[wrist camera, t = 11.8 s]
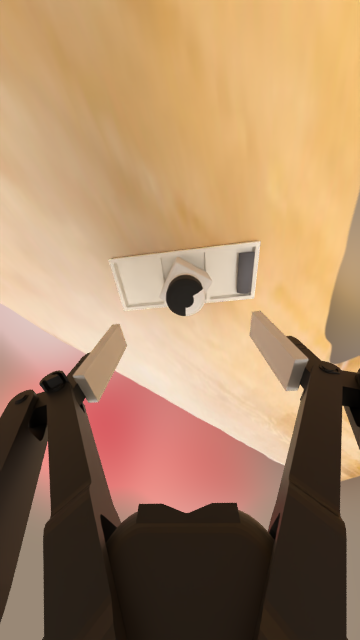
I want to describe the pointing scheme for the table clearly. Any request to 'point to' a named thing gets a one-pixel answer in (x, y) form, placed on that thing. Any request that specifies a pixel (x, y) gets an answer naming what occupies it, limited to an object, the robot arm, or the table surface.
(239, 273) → the grey cylinder
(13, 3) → the table surface
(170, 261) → the organiser
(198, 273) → the medicine bottle
